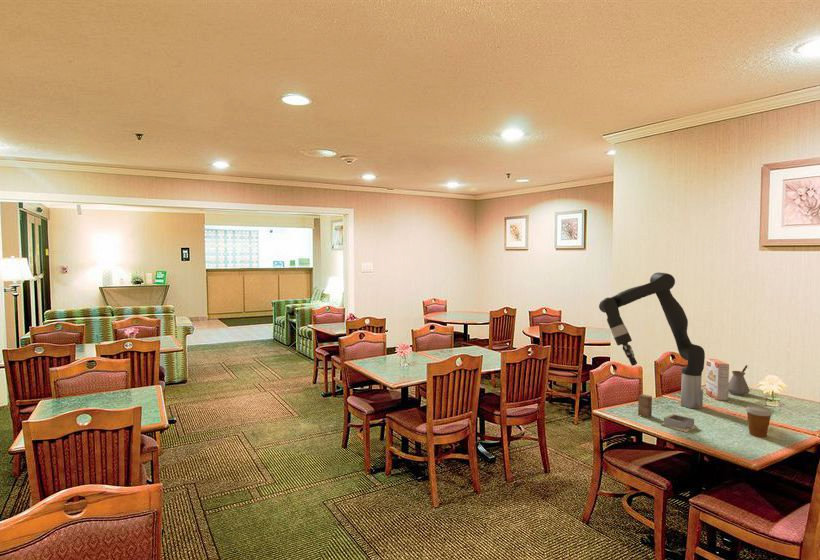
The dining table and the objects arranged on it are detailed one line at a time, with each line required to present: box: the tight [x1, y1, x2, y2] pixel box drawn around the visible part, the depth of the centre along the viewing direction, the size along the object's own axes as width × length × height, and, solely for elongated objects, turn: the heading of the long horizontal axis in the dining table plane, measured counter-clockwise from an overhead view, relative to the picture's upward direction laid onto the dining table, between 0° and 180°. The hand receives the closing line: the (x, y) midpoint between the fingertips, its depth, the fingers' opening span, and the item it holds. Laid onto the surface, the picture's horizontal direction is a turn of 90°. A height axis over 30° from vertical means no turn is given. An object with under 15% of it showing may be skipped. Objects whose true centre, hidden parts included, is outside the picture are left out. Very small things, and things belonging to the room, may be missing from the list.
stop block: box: [637, 393, 653, 418], centre depth 238 cm, size 4×4×10 cm
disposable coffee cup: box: [745, 405, 773, 438], centre depth 213 cm, size 10×10×12 cm
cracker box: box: [705, 358, 730, 402], centre depth 272 cm, size 14×6×21 cm, turn 172°
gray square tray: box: [661, 413, 698, 433], centre depth 223 cm, size 11×11×4 cm
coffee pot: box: [728, 364, 751, 396], centre depth 283 cm, size 21×12×15 cm, turn 129°
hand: (634, 364), depth 241 cm, fingers open, 8 cm apart
